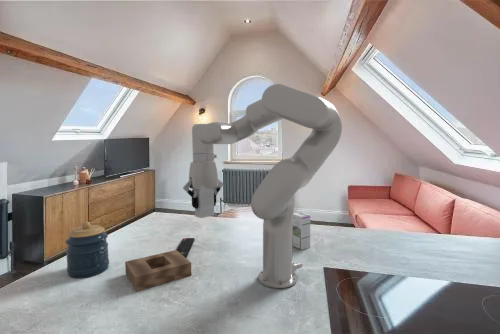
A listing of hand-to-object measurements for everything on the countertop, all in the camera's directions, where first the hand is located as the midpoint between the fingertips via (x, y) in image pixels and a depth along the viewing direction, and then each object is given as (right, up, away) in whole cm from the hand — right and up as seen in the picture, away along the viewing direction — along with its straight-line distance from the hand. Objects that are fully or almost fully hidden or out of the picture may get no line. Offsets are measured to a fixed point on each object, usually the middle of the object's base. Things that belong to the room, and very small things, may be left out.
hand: (204, 206), depth 104 cm
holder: (-14, -22, -8) cm, 28 cm away
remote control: (-11, -21, +15) cm, 28 cm away
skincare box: (0, -4, 0) cm, 4 cm away
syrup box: (+39, -20, +17) cm, 47 cm away
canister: (-40, -22, -4) cm, 46 cm away
